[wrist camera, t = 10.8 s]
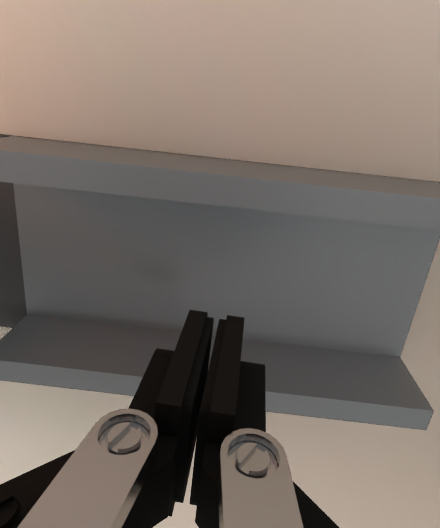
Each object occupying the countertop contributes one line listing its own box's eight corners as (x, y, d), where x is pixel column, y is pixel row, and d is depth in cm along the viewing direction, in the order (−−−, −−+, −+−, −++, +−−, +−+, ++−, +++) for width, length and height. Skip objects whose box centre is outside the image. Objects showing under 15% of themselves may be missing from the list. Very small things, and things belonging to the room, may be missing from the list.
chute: (450, 183, 16) (515, 207, 12) (390, 367, 19) (426, 430, 15) (15, 135, 16) (-55, 144, 12) (34, 326, 19) (-16, 378, 16)
